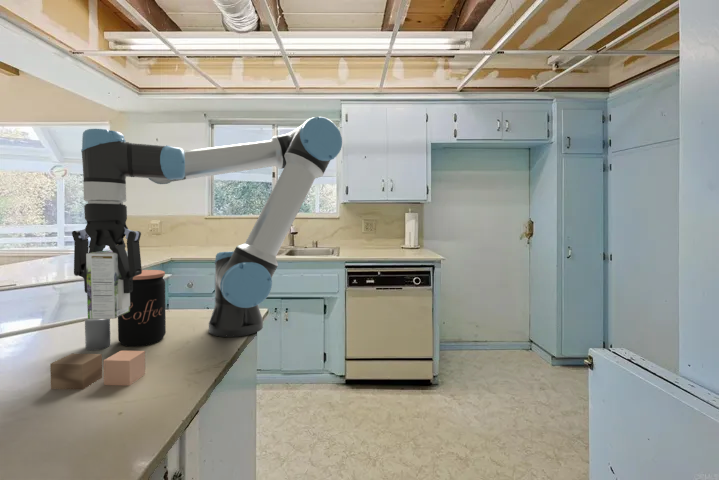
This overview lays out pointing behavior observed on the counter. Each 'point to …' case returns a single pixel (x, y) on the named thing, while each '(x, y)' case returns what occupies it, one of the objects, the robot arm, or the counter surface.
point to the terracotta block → (124, 367)
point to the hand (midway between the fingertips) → (109, 307)
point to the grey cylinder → (97, 334)
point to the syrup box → (103, 285)
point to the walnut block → (76, 371)
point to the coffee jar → (144, 311)
